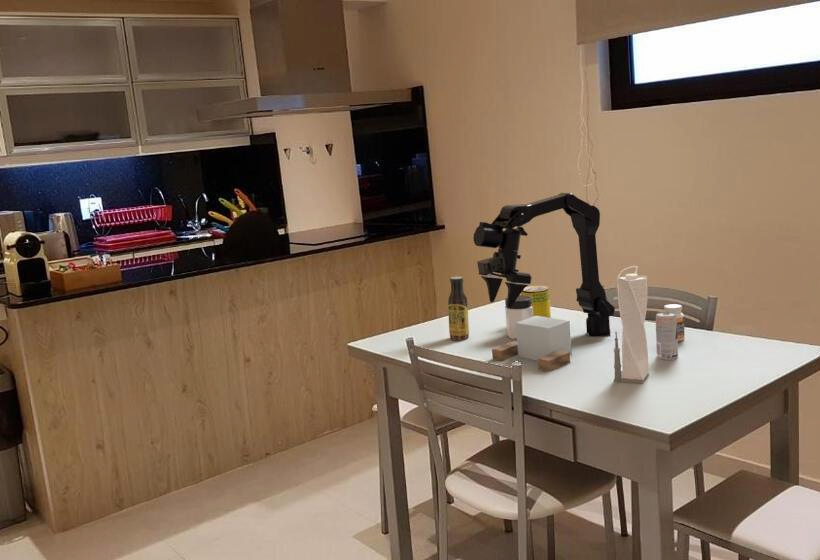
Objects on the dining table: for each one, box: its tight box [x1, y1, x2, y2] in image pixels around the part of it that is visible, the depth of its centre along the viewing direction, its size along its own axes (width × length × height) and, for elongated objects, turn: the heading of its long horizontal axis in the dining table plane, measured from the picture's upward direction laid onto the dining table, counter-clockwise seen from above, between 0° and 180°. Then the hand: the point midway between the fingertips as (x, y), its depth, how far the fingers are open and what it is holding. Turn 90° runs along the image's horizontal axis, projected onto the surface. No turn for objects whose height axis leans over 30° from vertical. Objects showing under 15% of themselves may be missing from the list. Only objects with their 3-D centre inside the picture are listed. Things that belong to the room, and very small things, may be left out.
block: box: [516, 316, 573, 361], centre depth 214 cm, size 9×12×10 cm
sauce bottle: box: [447, 276, 470, 341], centre depth 239 cm, size 6×6×20 cm
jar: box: [504, 294, 533, 340], centre depth 236 cm, size 9×8×12 cm
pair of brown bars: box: [491, 340, 571, 373], centre depth 211 cm, size 9×20×3 cm, turn 40°
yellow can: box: [520, 285, 552, 318], centre depth 248 cm, size 9×9×12 cm
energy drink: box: [655, 311, 679, 361], centre depth 202 cm, size 5×5×12 cm
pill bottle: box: [663, 303, 685, 342], centre depth 217 cm, size 6×6×10 cm
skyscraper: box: [613, 265, 650, 385], centre depth 188 cm, size 8×8×28 cm
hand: (500, 304), depth 214 cm, fingers open, 9 cm apart
